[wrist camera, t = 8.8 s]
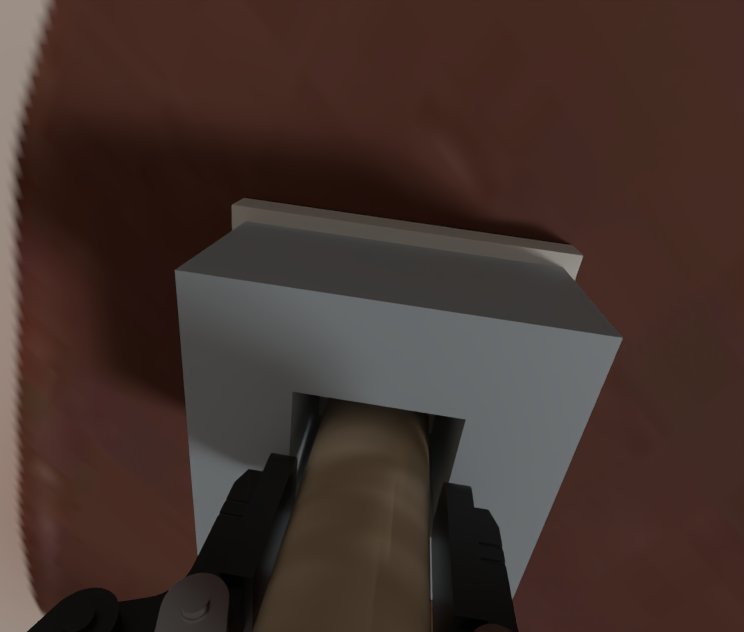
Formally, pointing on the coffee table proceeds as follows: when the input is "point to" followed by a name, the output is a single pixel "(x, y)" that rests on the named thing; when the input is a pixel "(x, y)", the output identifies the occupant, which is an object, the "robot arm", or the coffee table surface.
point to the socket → (391, 353)
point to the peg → (357, 528)
